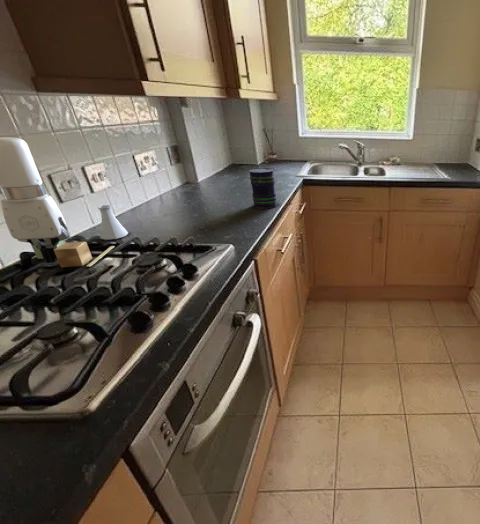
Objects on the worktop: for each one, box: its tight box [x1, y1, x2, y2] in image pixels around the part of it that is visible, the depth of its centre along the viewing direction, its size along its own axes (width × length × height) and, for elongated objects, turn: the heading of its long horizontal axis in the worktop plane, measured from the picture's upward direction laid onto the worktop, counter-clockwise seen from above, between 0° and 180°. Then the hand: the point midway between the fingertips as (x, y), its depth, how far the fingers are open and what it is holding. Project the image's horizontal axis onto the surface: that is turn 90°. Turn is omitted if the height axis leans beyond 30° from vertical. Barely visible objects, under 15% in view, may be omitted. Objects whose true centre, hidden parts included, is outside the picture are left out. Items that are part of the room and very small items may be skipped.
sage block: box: [30, 239, 67, 260], centre depth 92 cm, size 5×5×5 cm
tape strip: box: [86, 245, 115, 268], centre depth 93 cm, size 1×14×1 cm, turn 13°
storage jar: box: [249, 161, 278, 210], centre depth 139 cm, size 10×10×18 cm
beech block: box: [54, 241, 93, 268], centre depth 88 cm, size 5×5×5 cm
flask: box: [97, 204, 129, 241], centre depth 105 cm, size 7×7×10 cm
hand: (53, 260), depth 88 cm, fingers closed
